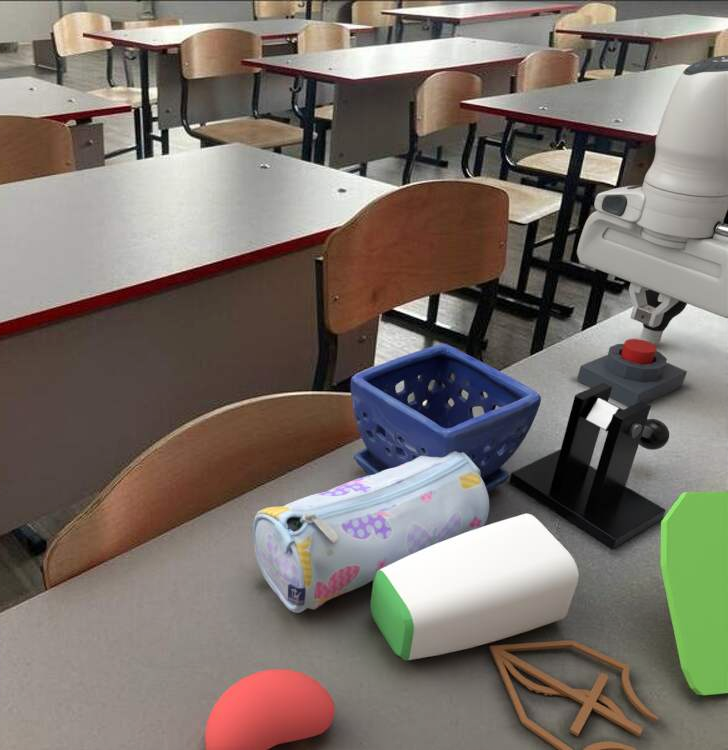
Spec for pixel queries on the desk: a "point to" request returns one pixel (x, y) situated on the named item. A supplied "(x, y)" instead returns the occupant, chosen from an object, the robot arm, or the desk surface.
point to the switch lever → (652, 434)
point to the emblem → (569, 692)
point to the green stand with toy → (698, 586)
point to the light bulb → (656, 333)
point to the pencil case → (366, 527)
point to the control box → (632, 376)
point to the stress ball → (269, 711)
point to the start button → (638, 351)
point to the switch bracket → (594, 474)
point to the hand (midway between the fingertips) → (644, 322)
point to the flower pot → (440, 412)
